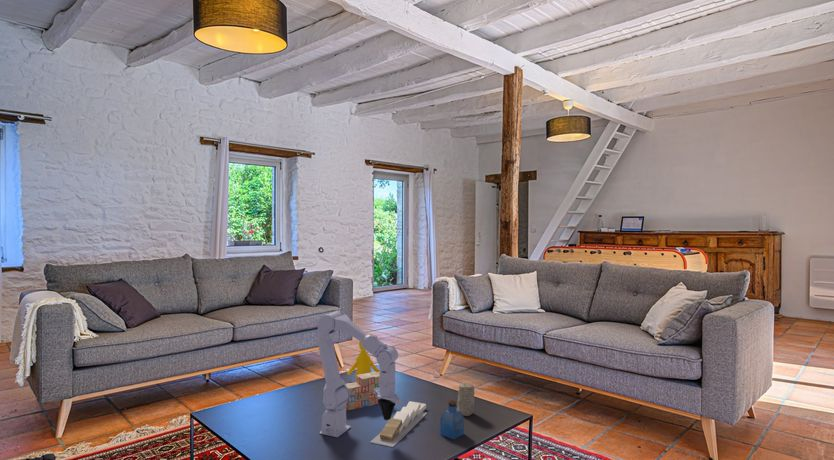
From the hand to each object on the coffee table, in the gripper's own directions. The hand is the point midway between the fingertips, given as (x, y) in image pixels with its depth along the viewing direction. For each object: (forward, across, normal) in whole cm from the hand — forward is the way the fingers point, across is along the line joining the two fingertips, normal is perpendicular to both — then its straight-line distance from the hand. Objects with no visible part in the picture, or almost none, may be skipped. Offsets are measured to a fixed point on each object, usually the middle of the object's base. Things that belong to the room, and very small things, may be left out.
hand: (387, 419), depth 172 cm
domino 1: (+6, -2, +4) cm, 8 cm away
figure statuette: (+8, -58, +26) cm, 64 cm away
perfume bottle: (+8, +11, +21) cm, 25 cm away
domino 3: (+6, -8, +15) cm, 18 cm away
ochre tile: (+6, 0, -1) cm, 6 cm away
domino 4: (+6, -11, +20) cm, 23 cm away
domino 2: (+6, -5, +9) cm, 12 cm away
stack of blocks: (+8, -34, +10) cm, 36 cm away
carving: (+8, +1, +38) cm, 39 cm away
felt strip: (+7, -6, +10) cm, 14 cm away
